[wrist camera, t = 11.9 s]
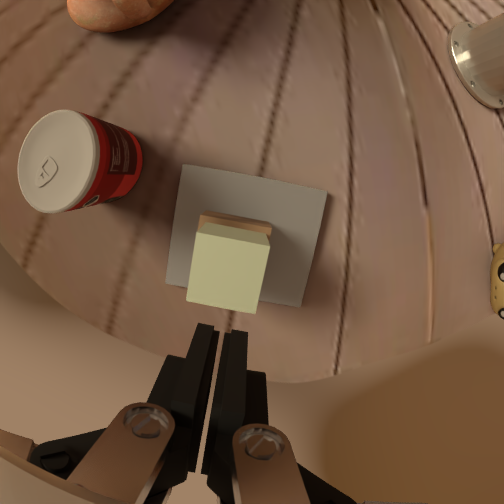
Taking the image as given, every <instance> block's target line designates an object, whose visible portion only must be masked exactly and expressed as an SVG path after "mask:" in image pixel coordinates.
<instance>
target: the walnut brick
mask: <svg viewBox="0 0 504 504" xmlns="http://www.w3.org/2000/svg"><path fill="white" fill-rule="evenodd" d="M206 222H208V223H213V224H219V225H224V226H229V227H234V228H239V229H245V230H250V231H255V232H260V233H265V234H266V236H267V239H268V241H269V240H270V235H271V230H272V227H271V225H270V223H269V222H267V221H262V220H257V219H252V218H246V217H241V216H236V215H230V214H225V213H219V212H213V211H208V210H206V211H205V212H203V213H202V214H201V215H200V218H199V224H198V230H199V229H200V228H201V227H202V226H203V225H204V224H205V223H206Z"/></svg>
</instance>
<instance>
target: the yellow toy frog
mask: <svg viewBox="0 0 504 504" xmlns="http://www.w3.org/2000/svg"><path fill="white" fill-rule="evenodd" d="M493 252H494V254H495V255H494V257H493V260H492V264H491V270H490V279H491V297H490V302H491V306H492V308H493V310H494V312H495V313H496V314H498V315H499V316H500V317H501V318H502V319H504V243H503V244H499V243H497V244H495V245H494V246H493Z"/></svg>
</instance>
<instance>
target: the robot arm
mask: <svg viewBox="0 0 504 504" xmlns="http://www.w3.org/2000/svg"><path fill="white" fill-rule="evenodd" d="M448 50H449V55H450V58H451V62H452V64H453V66H454V69H455V71H456V73H457V75H458V77H459V79H460V80H461V82H462V83H463V85H464V86H465V87H466V89H467V90H468V91H469V92H470V94H471V95H472V96H473V97H475V98H476V99H477V100H478V101H479V102H480V103H482V104H483V105H485V106H487V107H489V108H493V109H500V108H504V13H502V14H500V15H498V16H496V17H494V18H492V19H491V20H489V21H487V22H485V23H483V24H481V25H477V24H474V23H472V22H460V23H459V24H457V25H455V26H454V27H453V28H452V29H451V30H450V32H449V36H448ZM219 333H220V331H215V330H214V326H211V325H206V324H201V323H198V325H197V328H196V331H195V333H194V336H193V339H192V342H191V345H190V347H189V350H188V353H187V356H186V358H181V357H177V356H172V355H167V357H166V359H165V362H164V364H163V366H162V368H161V371H160V373H159V375H158V377H157V380H156V382H155V384H154V386H153V389H152V391H151V393H150V396H149V398H148V400H147V403H141V402H139V403H134V404H130V405H128V406H126V407H124V408H123V409H122V410H121V411H120V412H119V413H118V414H117V416H116V417H115V418H114V420H113V421H112V422H111V424H110V425H109V426H108V427H107V428H104V429H100V430H96V431H92V432H88V433H84V434H80V435H76V436H72V437H67V438H62V439H58V440H53V441H48V442H45V443H42V444H40V445H38V444H35V443H34V441H33V440H32V439H29V438H25V437H22V436H19V435H15V434H12V433H10V432H7V431H4V430H1V429H0V504H166V503H167V500H168V498H169V496H170V494H171V491H172V487H173V486H176V485H178V484H180V483H182V482H184V481H185V480H186V478H187V474H188V471H189V472H194V473H195V469H196V464H197V458H198V453H199V447H200V442H201V436H202V431H203V425H204V419H205V414H206V409H207V404H208V399H209V393H210V387H211V380H212V375H213V369H214V363H215V357H216V351H217V345H218V339H219ZM247 346H248V332H244V331H238V330H233V329H232V331H231V333H226V332H225V335H224V340H223V346H222V351H221V357H220V362H219V368H218V374H217V379H216V385H215V391H214V397H213V403H212V409H211V414H210V421H209V427H208V433H207V439H206V445H205V451H204V457H203V463H202V469H201V474H205V475H208V478H207V486H208V487H209V488H210V489H211V490H212V491H213V492H214V493H215V494H217V504H360V503H356V502H355V501H354V500H353V499H351V498H350V497H349V496H346V495H345V494H344V493H342V492H340V491H339V490H337V489H336V488H334V487H332V486H331V485H329V484H328V483H326V482H325V481H323V480H322V479H320V478H319V477H317V476H316V475H314V474H313V473H311V472H310V471H308V470H307V469H306V468H304V467H303V466H301V465H300V464H298V463H297V462H296V459H295V456H294V453H293V450H292V447H291V444H290V442H289V440H288V438H287V436H286V435H285V434H284V433H283V432H281V431H280V430H278V429H276V428H275V427H272V426H269V424H268V406H267V387H266V374H265V372H258V371H251V370H247ZM362 504H426V503H395V502H374V501H364V502H363V503H362Z"/></svg>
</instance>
